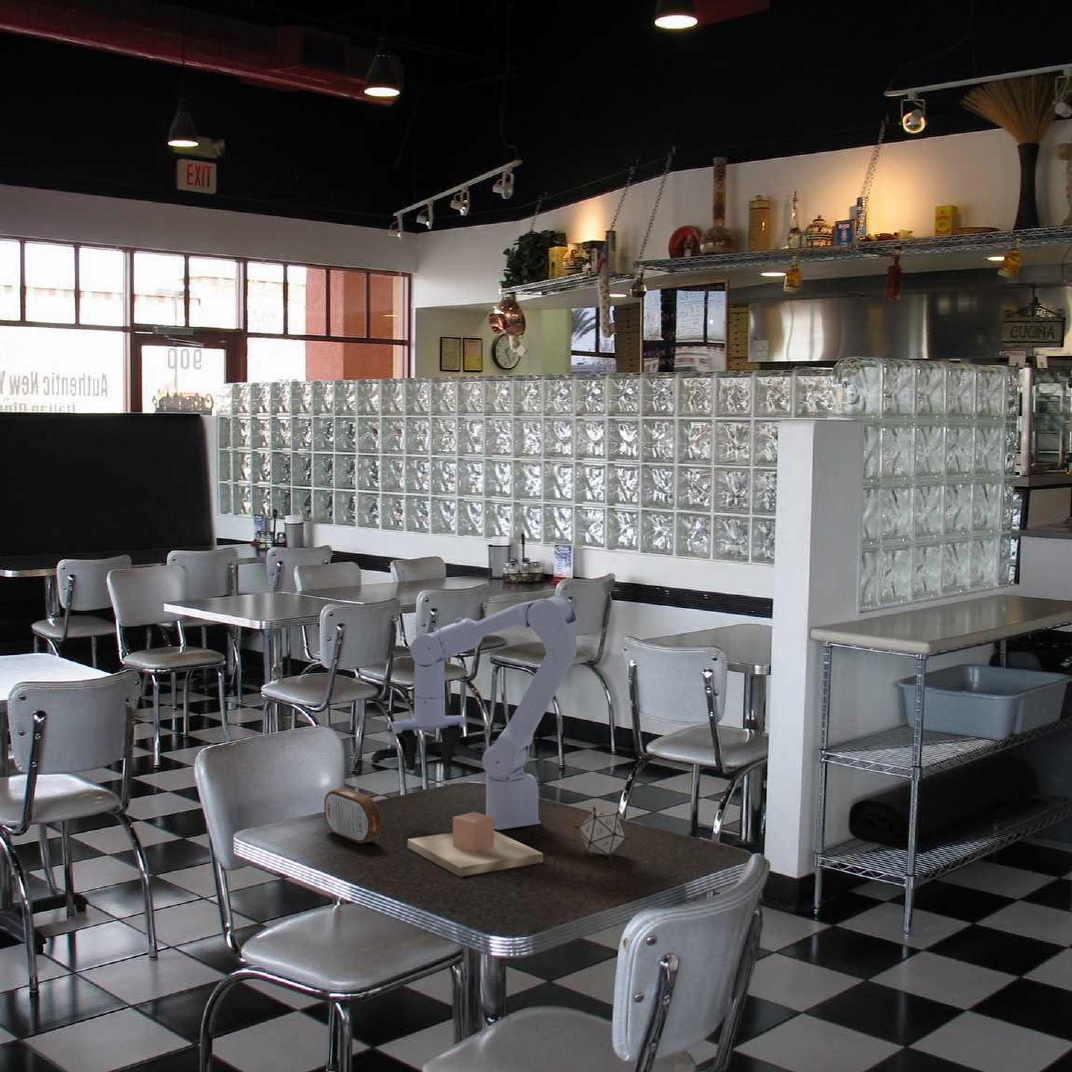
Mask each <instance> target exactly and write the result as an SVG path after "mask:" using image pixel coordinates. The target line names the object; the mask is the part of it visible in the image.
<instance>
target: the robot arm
mask: <svg viewBox="0 0 1072 1072" xmlns="http://www.w3.org/2000/svg"><path fill="white" fill-rule="evenodd" d="M577 624H578V616H577V613H576V611H575V609H574V606H573V604H572V603H571V601H570V600H569V598H566V597H565V596H563V595H552V596H550V597H548V598H546V599H545V598H540V599H536V600H532V601H527V602H522V603H518V604H515V605H513V606H510V607H508V608H506V609H503V610H501V611H499V612H496V613H494V614H492V615H489V616H487V617H485V618H482V619H479V620H478V621H476V620H474V619H472V618H469V617H466V618H463V616H461V617H458V618H455V619H454V621H453V623H450V624H448V625H446V626H444V627H441V628H440V626H437V627H434V628H432V632H430V633H429V632H428V633H422V634H420V635H419V636H417V637H416V638H414V640H413V641H412V642H411V645H410V647H409V651H410V656H411V659H412V660H413V661H414V697H413V699H414V705H413V706H414V707H413V708H414V709H413V711H414V712H413V713H414V714H413V718H407V719H402V720H397V721H392V732H393V733H394V734H395V735H394V736H395V737H396V739H397V740H398V743H399V745H400V748H401V750H402V752H403V757H404V760H405V765H406V769H407V770H410V771H415V770H416V753H417V752H416V750H417V745H418V744H417V743H418V740H419V736H418V735H416V734H415V732H417V731H428V730H435V729H436V730H438V729H439V731H440V738H441V762H442V763H441V764H442V765H443V766H446V767H450V766H451V763H452V760H453V757H454V756H453V755H454V753H455V750H456V748H457V746H458V745H457V744H458V743H459V741H460V739H461V737H462V735H463V734H464V733H463V732H464V730H463V728H464V727H466V717H465V716H463V715H461V714H460V715H445V688H446V687H445V686H446V685H445V682H446V681H445V677H446V675H445V674H446V673H445V669H446V668H445V667H446V666H445V665H446V663H445V661H446V659H447V658H451V657H454V656H456V655H459V654H461V653H464V652H467V651H469V650H472V649H475V648H478V647H479V646H480V644H481V642H482V639H483V638H484V637H485V636H488V635H491V634H494V633H498V632H500V631H502V630H506V629H509V628H512V627H515V626H518V627H522V628H524V629H527V628H530V627H531V630H533V632H534V633H535V634H536V636H537V637H538V638H539V639H540V641H541V643H542V645H543V649H544V651H545V656H544V658H543V660H542V662H541V663H540V665H539V667H538V669H537V671H536V673H535V674H534V676H533V678H532V679H531V681H530V683H529V685H528V687H527V688H526V691H525V693H524V695H523V696H522V698H521V700H520V702H519V704H518V706H517V707H516V710H515V712H514V713H513V715H512V717H511V719H510V721H509V722H508V724H507V726H506V727H505V728H504V730H503V731H502V732H501V733H500V734H499V736H498V737H497V739H496V740H495V742H494V744H492V745H491V746H489V747H488V748H486V749H485V751H484V752H483V755H482V757H481V758H482V759H481V763H482V764H481V765H482V768H483V769H484V770H483V771H485V773H486V777H485V778H486V781H485V782H486V784H485V785H486V786H485V787H486V789H485V790H486V791H485V792H486V793H485V796H486V797H485V798H486V800H485V801H486V802H485V815H487V816H491V817H494V830H497V831H502V830H506V829H507V830H509V829H513V828H520V827H528V826H535V825H539V824H541V820H539V796H540V795H539V793H540V792H539V785H538V782H537V779H536V777H535V776H533V775H532V774H531V773H525V769H524V766H526V764H527V763H528V760H529V757H530V747H531V744H532V743H533V740H534V739H533V738H534V733H535V732H536V730H537V728H538V726H539V724H540V723H541V721H542V719H543V716H544V715H545V714H546V711H547V709H548V708H549V706H550V704H551V702H552V701H553V698H554V697H555V695H556V693H557V691H558V689H559V688H560V686H561V683H562V682H563V680H564V678H565V676H566V675H567V672H568V671H569V669H570V667H571V665H572V663H573V662H574V660H575V658H576V657H577V651H578V649H577ZM462 727H463V728H462Z"/></svg>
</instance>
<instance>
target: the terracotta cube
mask: <svg viewBox="0 0 1072 1072" xmlns="http://www.w3.org/2000/svg"><path fill="white" fill-rule="evenodd" d="M494 831H495V829H494V817H491V816H487V815H486V814H483V813H480V812H475V811H473V812H468V813H464V814H460V815H456V816H453V817H452V833H453V846H455V847H458V848H461V849H465V850H468V851H472V852H474V851H478V850H482V849H485V848H489V847H492V846H494Z"/></svg>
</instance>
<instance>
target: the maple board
mask: <svg viewBox="0 0 1072 1072" xmlns="http://www.w3.org/2000/svg"><path fill="white" fill-rule="evenodd" d="M407 849H409V850H411V851H413V852H414V853H416V854H418V855H420V856H421V857H423V858H425V859H427V860H429V861H431V862H433V863H434V864H436V865H438V866H440V867H441V868H443V869H445V870H447V871H448V872H451V873H453V874H454V875H455V876H458V877H459V878H460V877H465V876H471V875H472V876H473V875H476V874H484V873H488V872H494V871H501V870H507V869H511V868H517V867H524V866H530V865H535V864H541V863H544V853H543V852H541V851H538V850H537V849H534V848H533V847H530V846H528V845H526V844H523V843H521V842H520V841H517V840H515V839H513V838H511V837H508V836H506V835H505V834H502V833H501V832H498V831H495V830H494V846H492V847H489V848H485V849H482V850H478V851H474V852H472V851H468V850H465V849H461V848H458V847H455V846H453V832H447V833H441V834H433V835H427V836H426V835H425V836H420V837H413V838H408V839H407Z"/></svg>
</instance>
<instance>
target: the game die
mask: <svg viewBox="0 0 1072 1072" xmlns="http://www.w3.org/2000/svg"><path fill="white" fill-rule="evenodd" d="M592 811H593V812H592V813H590V815H589V816H587V817H586V819H585V820H584V821H583V822H582V823H581V824H580V825H579V826H578V825H574V826H573V828H574V829H576V830H578V831H579V834H580V836H581V839H582V842H583V845H584V847H585V851H584V854H583V856H587V854H588V853H592V854H599V855H605V856H607V857H608V860H610V861H612V854H613V853H614V852H615V850H616V849H618V848H619V846H620V845H621V844H622V842H623V841H625V840H627V841H628V840H630V839H631V837H630V836H626V834H625V832H624V830H623V827H622V823H621V822H620V819H619V816H618V815H620V814H621V810H617V811H616V812H615V813H613V812H612V813H611V812H609V811H608V812H607V811H602V810H601V811H600V810H597V808H596V807H595V806H594V805H593V806H592Z"/></svg>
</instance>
